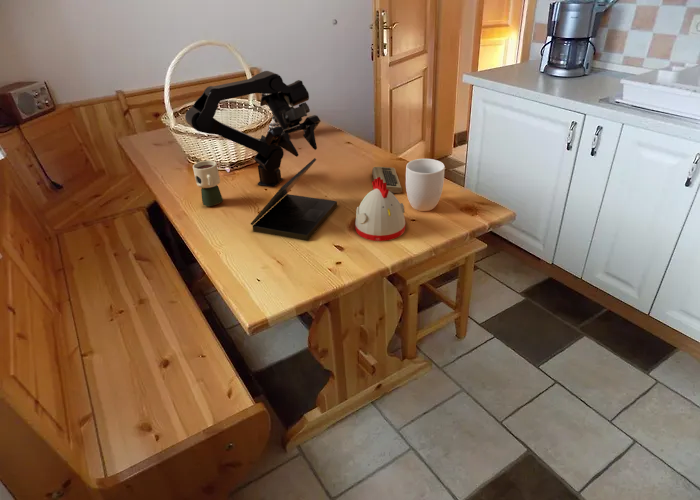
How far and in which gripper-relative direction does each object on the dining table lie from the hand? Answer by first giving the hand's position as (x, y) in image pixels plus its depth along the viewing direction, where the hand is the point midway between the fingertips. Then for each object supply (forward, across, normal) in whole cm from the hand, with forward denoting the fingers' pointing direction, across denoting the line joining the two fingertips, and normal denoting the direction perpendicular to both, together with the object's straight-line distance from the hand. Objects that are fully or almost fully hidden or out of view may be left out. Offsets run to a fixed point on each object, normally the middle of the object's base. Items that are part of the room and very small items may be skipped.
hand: (307, 152), depth 148 cm
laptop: (+18, -16, 0) cm, 24 cm away
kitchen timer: (+33, -3, -15) cm, 37 cm away
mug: (+33, +16, -15) cm, 40 cm away
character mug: (-2, -27, +20) cm, 34 cm away
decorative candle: (-25, +23, +44) cm, 55 cm away
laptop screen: (+10, -17, -4) cm, 20 cm away
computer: (+20, +19, -2) cm, 28 cm away
